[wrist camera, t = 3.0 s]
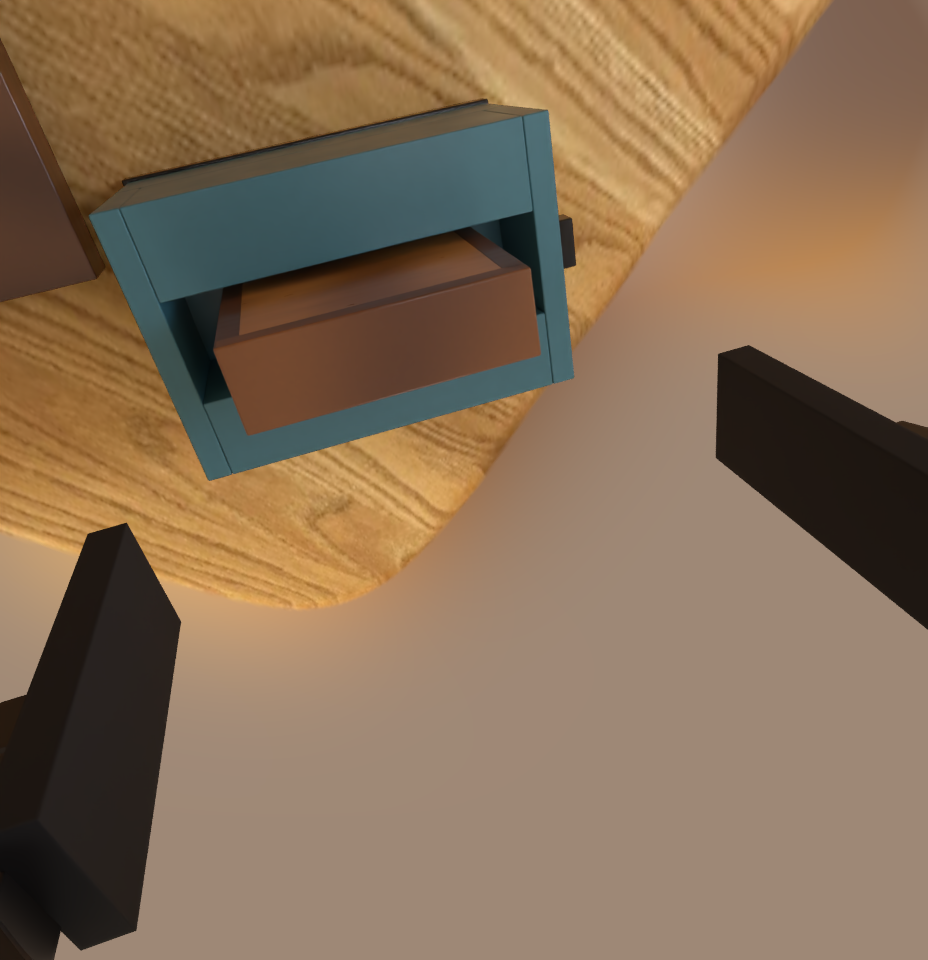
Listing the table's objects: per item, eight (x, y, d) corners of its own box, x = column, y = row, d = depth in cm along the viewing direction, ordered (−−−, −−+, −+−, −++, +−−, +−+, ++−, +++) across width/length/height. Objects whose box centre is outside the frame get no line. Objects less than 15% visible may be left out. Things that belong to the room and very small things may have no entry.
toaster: (215, 399, 35) (205, 486, 28) (123, 178, 30) (78, 211, 22) (531, 315, 38) (600, 374, 30) (503, 93, 32) (580, 97, 24)
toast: (249, 338, 30) (247, 437, 22) (225, 270, 29) (212, 349, 20) (466, 282, 32) (542, 356, 23) (454, 214, 30) (531, 267, 22)
